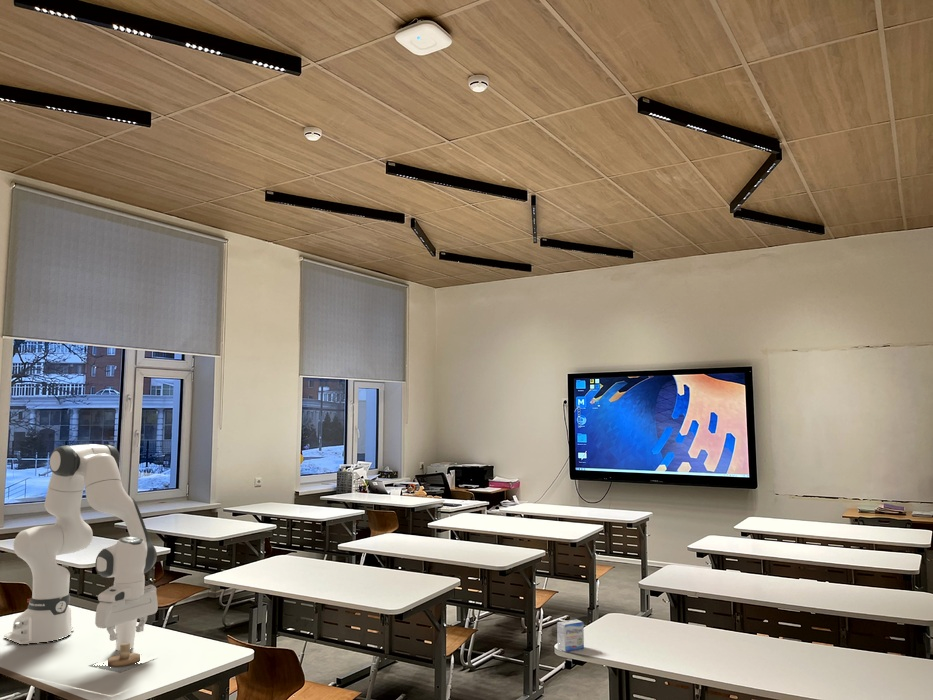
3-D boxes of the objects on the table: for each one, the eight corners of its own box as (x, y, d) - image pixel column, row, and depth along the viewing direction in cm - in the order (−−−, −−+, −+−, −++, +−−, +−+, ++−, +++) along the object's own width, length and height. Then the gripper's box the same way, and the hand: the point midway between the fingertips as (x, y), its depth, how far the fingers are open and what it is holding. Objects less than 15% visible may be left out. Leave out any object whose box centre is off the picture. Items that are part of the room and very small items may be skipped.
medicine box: (565, 652, 219) (564, 625, 220) (557, 648, 223) (556, 621, 224) (584, 648, 223) (583, 621, 224) (576, 645, 227) (575, 618, 228)
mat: (88, 667, 206) (88, 665, 206) (127, 653, 218) (127, 652, 218) (120, 673, 200) (120, 672, 200) (158, 659, 213) (158, 657, 213)
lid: (101, 664, 207) (102, 646, 208) (126, 655, 215) (127, 638, 216) (122, 668, 203) (123, 650, 204) (146, 659, 211) (147, 642, 212)
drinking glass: (120, 654, 217) (123, 606, 219) (108, 650, 221) (111, 603, 222) (140, 648, 223) (142, 602, 225) (128, 645, 226) (131, 599, 228)
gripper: (149, 582, 222) (147, 625, 221) (93, 596, 204) (90, 643, 202) (163, 584, 220) (161, 627, 218) (107, 598, 201) (105, 646, 200)
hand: (126, 635), depth 210 cm, fingers open, 8 cm apart
